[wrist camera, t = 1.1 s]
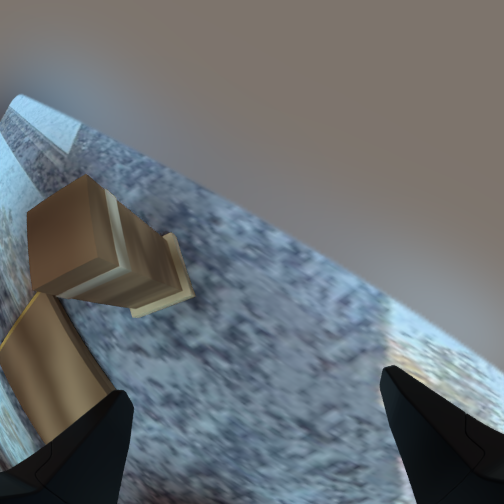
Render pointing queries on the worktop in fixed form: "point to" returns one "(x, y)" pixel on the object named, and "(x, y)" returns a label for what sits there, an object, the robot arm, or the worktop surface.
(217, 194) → the worktop surface
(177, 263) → the tan square pillar
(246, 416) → the worktop surface
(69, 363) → the dock
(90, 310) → the worktop surface
